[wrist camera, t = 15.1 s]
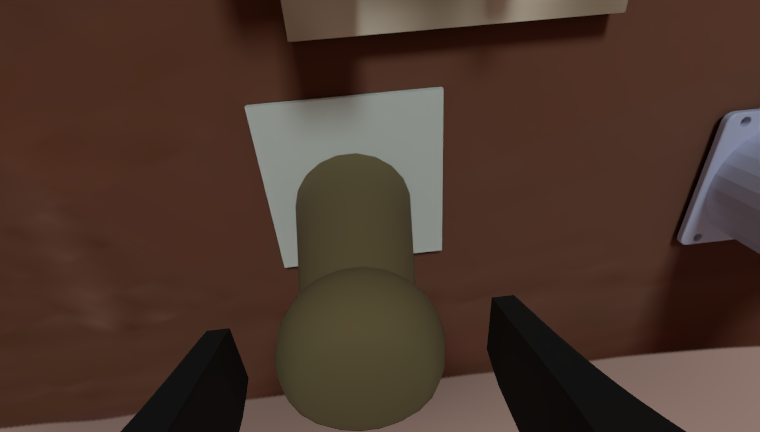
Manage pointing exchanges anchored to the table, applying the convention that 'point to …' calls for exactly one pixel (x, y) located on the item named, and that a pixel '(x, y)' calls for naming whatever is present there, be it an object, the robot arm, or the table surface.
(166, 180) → the table surface
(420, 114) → the pale green mat
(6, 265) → the table surface
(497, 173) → the table surface
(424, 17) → the shaft bracket
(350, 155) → the olive stepped cylinder
